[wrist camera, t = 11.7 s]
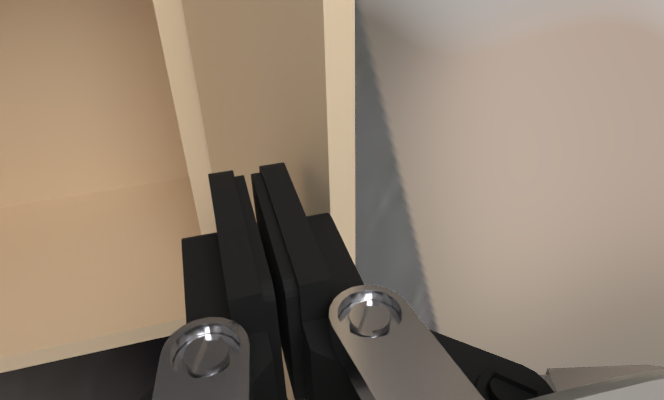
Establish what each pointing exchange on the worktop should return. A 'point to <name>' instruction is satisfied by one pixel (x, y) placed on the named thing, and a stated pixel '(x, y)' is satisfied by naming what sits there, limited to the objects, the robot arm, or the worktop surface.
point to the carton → (96, 175)
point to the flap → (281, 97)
